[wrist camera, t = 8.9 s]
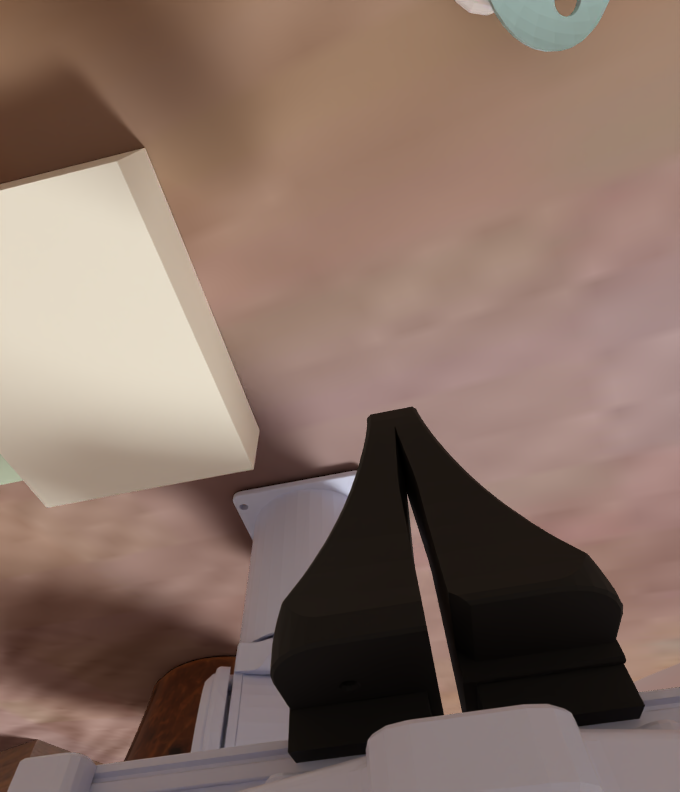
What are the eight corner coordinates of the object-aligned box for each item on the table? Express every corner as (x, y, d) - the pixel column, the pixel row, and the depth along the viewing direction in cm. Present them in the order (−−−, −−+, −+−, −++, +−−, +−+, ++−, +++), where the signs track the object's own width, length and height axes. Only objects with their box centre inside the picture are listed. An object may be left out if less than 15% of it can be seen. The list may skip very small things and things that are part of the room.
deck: (259, 430, 25) (253, 469, 23) (71, 466, 26) (46, 508, 24) (144, 147, 17) (116, 161, 15) (-120, 214, 18) (-187, 237, 16)
